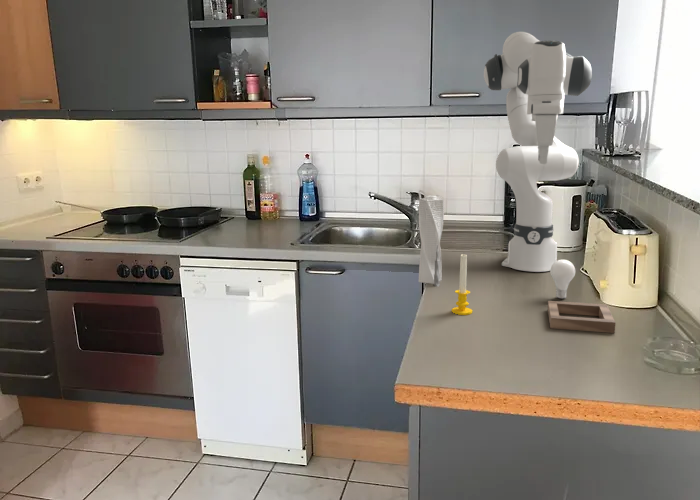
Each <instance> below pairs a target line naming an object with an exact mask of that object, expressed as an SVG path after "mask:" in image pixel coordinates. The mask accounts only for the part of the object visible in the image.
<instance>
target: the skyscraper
mask: <svg viewBox="0 0 700 500" xmlns="http://www.w3.org/2000/svg"><path fill="white" fill-rule="evenodd" d="M421 193H422V194H423V196H424V197H423V198H422V196H421ZM444 214H445V199H444V197H442V196H441V195H438V194H436V195H426V192H425V191H423V190H419V191H418V227H419V228H418V230H419V237H420V242H421V244H420V245H421V246H420V253H419V265H418V283H424V284H429V285H433V286H434V287H440V282H441V281H442V280H443V279H442V278H443V276H442V272H443V271H442V270H443V269H442V265H443V264H442V263H443V262H442V251H441V250H442V249H441V238H442V234H443V228H444V216H445V215H444Z"/></svg>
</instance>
